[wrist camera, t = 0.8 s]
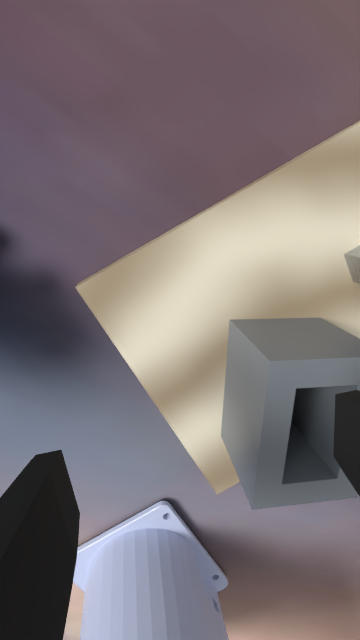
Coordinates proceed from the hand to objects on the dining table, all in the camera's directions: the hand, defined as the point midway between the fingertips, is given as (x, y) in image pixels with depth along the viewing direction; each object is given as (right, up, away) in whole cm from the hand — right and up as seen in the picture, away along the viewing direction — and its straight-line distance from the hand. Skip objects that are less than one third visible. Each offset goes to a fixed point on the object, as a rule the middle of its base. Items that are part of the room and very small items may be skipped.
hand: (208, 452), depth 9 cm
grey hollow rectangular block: (+4, 0, +10) cm, 11 cm away
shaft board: (+7, +4, +10) cm, 13 cm away
